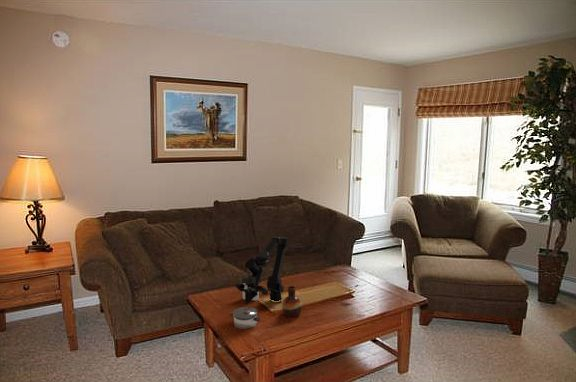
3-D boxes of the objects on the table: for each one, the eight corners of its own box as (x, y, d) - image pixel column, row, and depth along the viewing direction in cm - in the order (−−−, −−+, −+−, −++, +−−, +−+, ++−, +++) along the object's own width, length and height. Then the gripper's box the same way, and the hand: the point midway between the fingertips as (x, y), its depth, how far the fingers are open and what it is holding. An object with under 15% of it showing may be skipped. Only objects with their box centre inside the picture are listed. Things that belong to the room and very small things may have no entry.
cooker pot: (238, 315, 219) (238, 307, 218) (265, 321, 210) (265, 313, 210) (225, 324, 208) (225, 316, 208) (252, 331, 200) (252, 323, 199)
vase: (295, 320, 211) (294, 292, 209) (278, 315, 217) (277, 289, 215) (305, 312, 221) (305, 285, 219) (289, 308, 226) (288, 282, 224)
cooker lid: (242, 307, 218) (242, 303, 217) (262, 311, 211) (261, 307, 211) (227, 316, 206) (227, 312, 206) (248, 321, 200) (248, 317, 200)
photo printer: (260, 298, 242) (259, 279, 240) (257, 301, 237) (256, 281, 236) (244, 297, 245) (243, 278, 243) (241, 299, 241) (240, 280, 239)
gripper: (235, 268, 216) (224, 295, 209) (262, 272, 206) (251, 300, 199) (245, 277, 224) (235, 303, 216) (272, 280, 214) (262, 308, 206)
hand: (246, 303), depth 209 cm, fingers closed
